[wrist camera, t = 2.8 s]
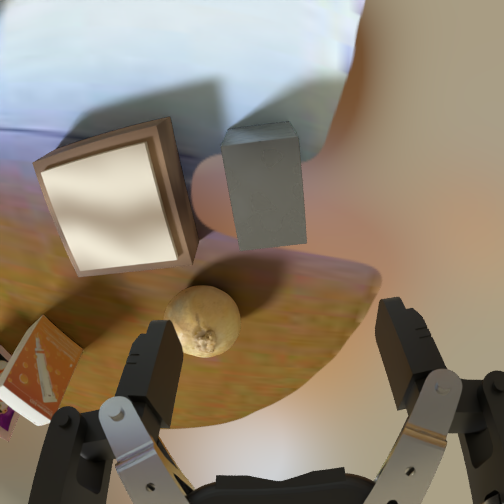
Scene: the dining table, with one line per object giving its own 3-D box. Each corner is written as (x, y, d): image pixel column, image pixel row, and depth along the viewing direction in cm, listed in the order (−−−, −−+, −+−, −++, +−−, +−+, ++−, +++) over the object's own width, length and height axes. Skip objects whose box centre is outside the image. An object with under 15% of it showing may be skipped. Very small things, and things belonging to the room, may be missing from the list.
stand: (55, 149, 25) (29, 164, 21) (170, 116, 24) (154, 126, 20) (93, 254, 32) (76, 280, 28) (199, 240, 31) (191, 268, 27)
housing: (227, 128, 25) (220, 146, 20) (289, 121, 25) (298, 136, 20) (244, 226, 30) (242, 264, 25) (298, 220, 30) (307, 256, 25)
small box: (84, 348, 41) (54, 423, 30) (66, 360, 43) (37, 427, 32) (42, 312, 37) (1, 385, 26) (27, 327, 39) (-9, 393, 28)
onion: (242, 329, 37) (240, 378, 31) (175, 326, 37) (164, 374, 31) (241, 275, 33) (238, 325, 27) (165, 273, 33) (148, 321, 27)
